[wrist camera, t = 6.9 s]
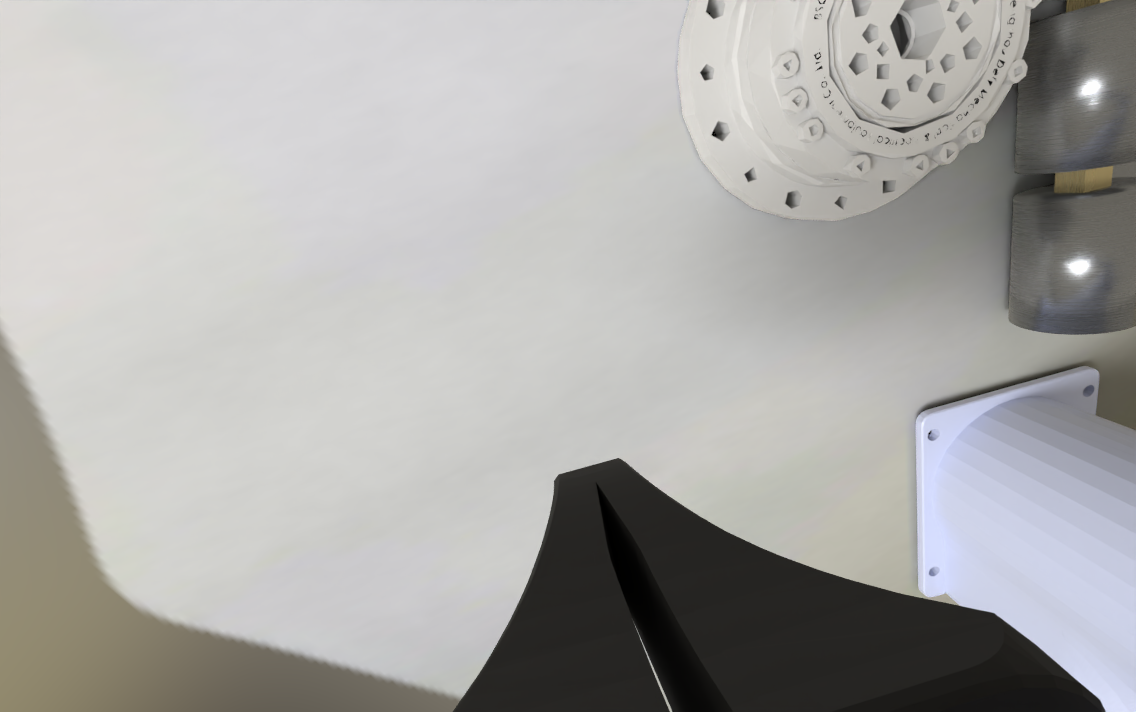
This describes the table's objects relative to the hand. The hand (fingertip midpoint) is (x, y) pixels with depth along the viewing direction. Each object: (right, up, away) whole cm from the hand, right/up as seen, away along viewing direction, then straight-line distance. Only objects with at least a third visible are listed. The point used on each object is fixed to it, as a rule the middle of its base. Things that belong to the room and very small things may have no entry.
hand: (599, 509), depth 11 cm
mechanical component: (+8, +13, +8) cm, 17 cm away
